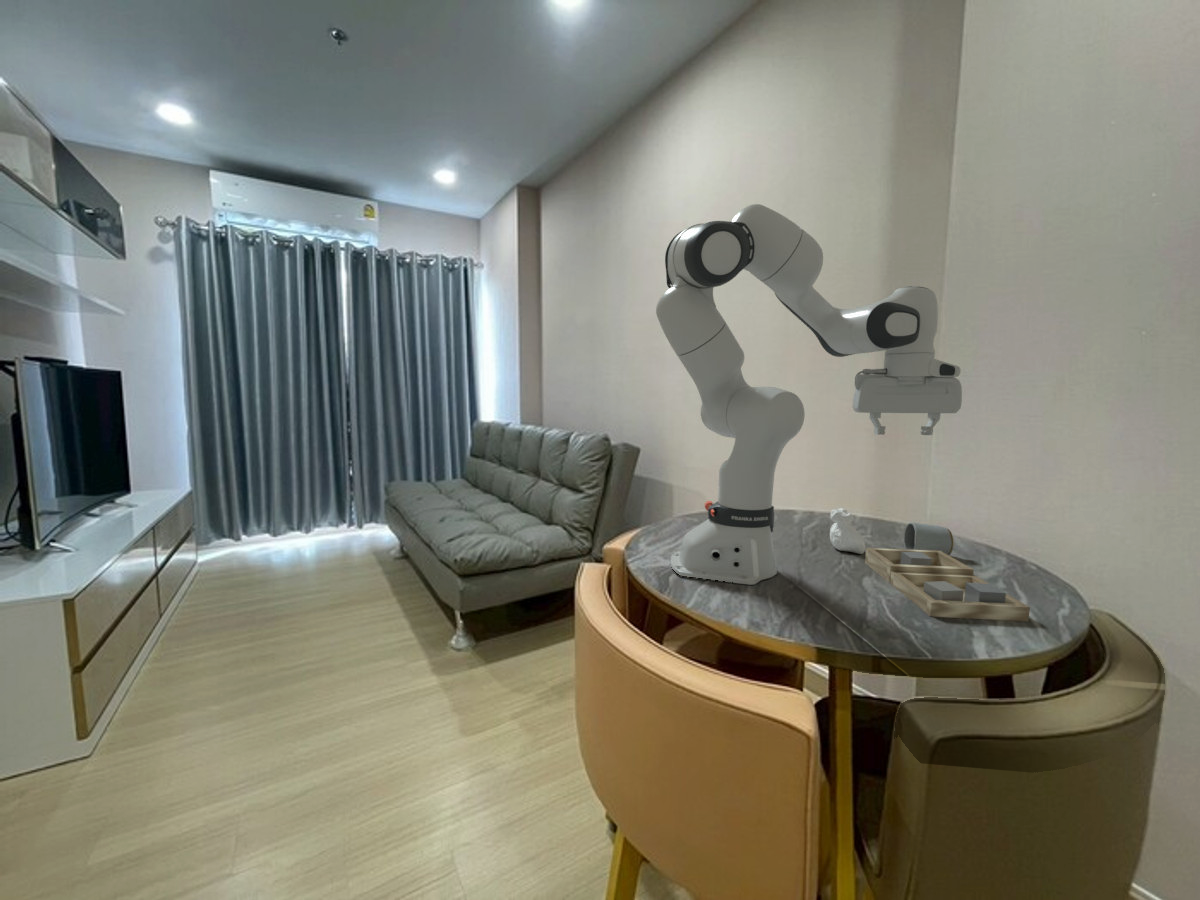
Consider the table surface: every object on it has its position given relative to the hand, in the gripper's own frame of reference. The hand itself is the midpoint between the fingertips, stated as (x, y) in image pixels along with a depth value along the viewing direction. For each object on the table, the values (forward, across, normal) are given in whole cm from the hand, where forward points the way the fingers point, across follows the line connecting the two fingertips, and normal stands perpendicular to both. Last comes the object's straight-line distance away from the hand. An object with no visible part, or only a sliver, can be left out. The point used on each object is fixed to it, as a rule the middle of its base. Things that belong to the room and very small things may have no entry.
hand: (902, 434), depth 103 cm
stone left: (+28, -2, -22) cm, 36 cm away
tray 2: (+29, +2, -18) cm, 35 cm away
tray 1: (+29, +2, -6) cm, 30 cm away
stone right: (+28, +5, -22) cm, 36 cm away
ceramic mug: (+29, +12, +10) cm, 33 cm away
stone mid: (+28, +2, -5) cm, 29 cm away
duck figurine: (+29, -6, +11) cm, 32 cm away
